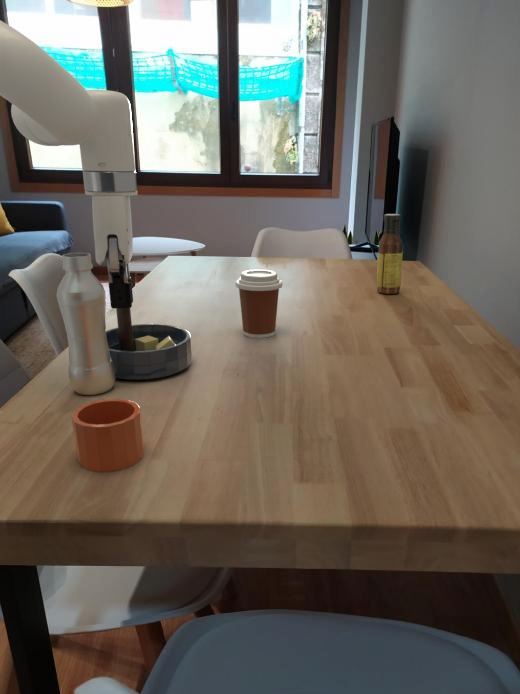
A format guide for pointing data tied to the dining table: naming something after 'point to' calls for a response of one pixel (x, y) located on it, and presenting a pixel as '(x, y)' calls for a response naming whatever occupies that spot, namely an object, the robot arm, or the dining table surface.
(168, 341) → the chunk
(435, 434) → the dining table surface
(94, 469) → the holder
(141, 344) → the chunk
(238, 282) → the coffee cup
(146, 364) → the bowl
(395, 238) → the sauce bottle
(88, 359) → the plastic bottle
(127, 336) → the stick
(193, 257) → the dining table surface
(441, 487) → the dining table surface
